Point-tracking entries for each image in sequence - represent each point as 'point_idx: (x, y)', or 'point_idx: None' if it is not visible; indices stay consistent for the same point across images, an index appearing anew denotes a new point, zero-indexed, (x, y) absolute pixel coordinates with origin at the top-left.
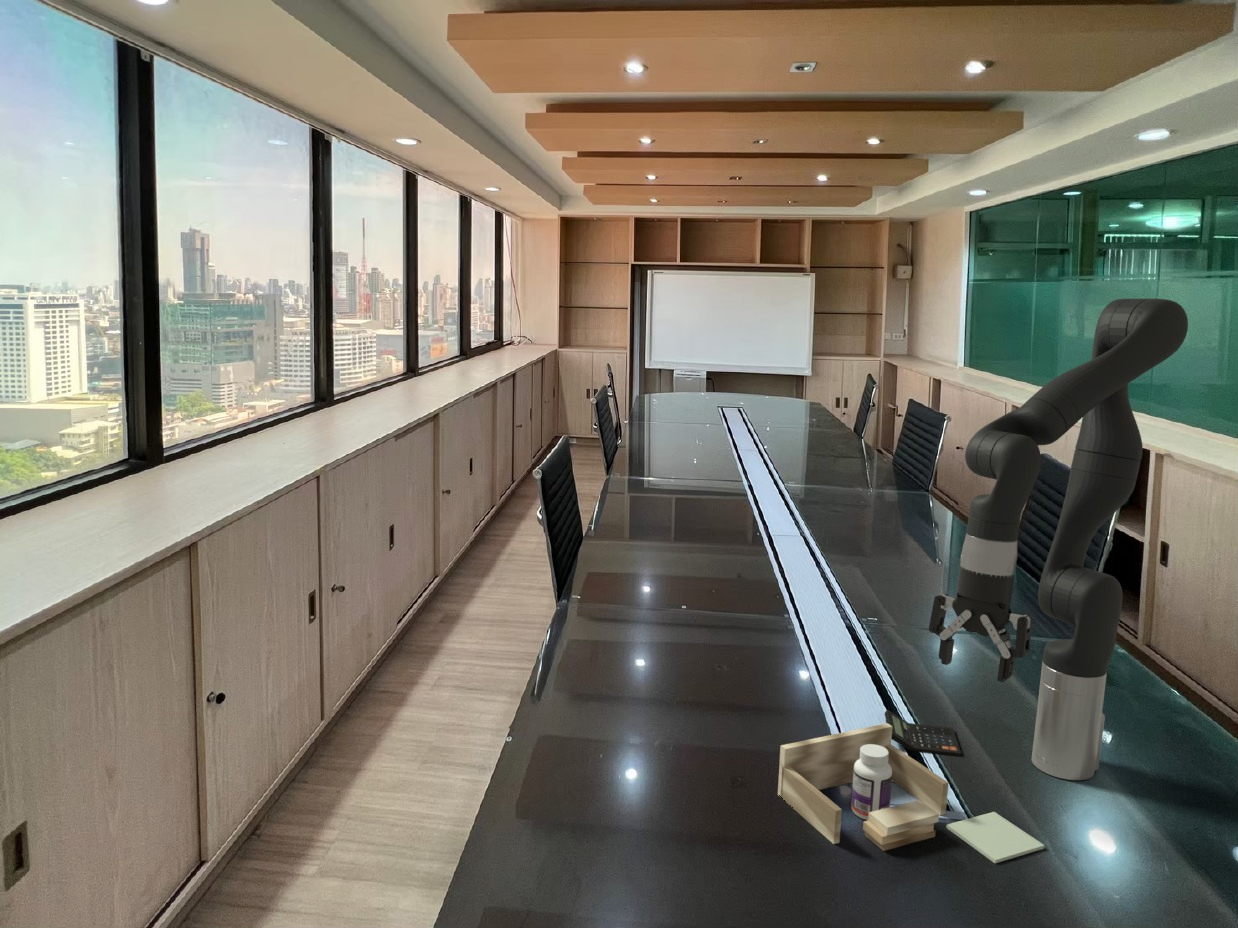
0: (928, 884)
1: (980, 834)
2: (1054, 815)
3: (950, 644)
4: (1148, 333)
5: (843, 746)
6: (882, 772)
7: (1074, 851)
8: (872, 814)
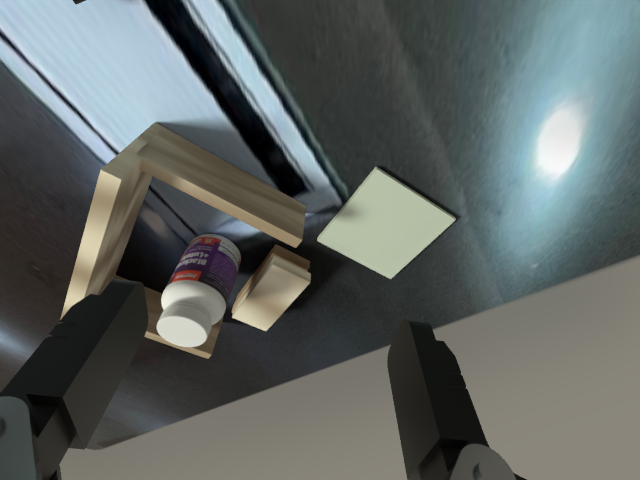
0: (329, 331)
1: (365, 240)
2: (485, 102)
3: (89, 404)
4: None
5: (103, 257)
6: (215, 322)
7: (500, 200)
8: (237, 318)
